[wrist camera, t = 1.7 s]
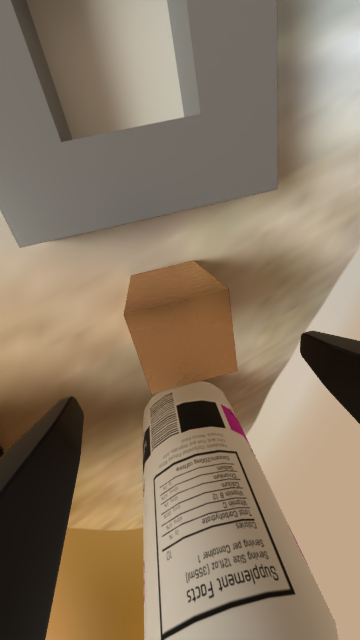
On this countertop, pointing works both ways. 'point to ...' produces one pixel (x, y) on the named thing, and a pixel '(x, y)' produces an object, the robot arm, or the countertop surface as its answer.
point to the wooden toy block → (180, 326)
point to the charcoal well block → (132, 110)
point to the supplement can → (217, 532)
